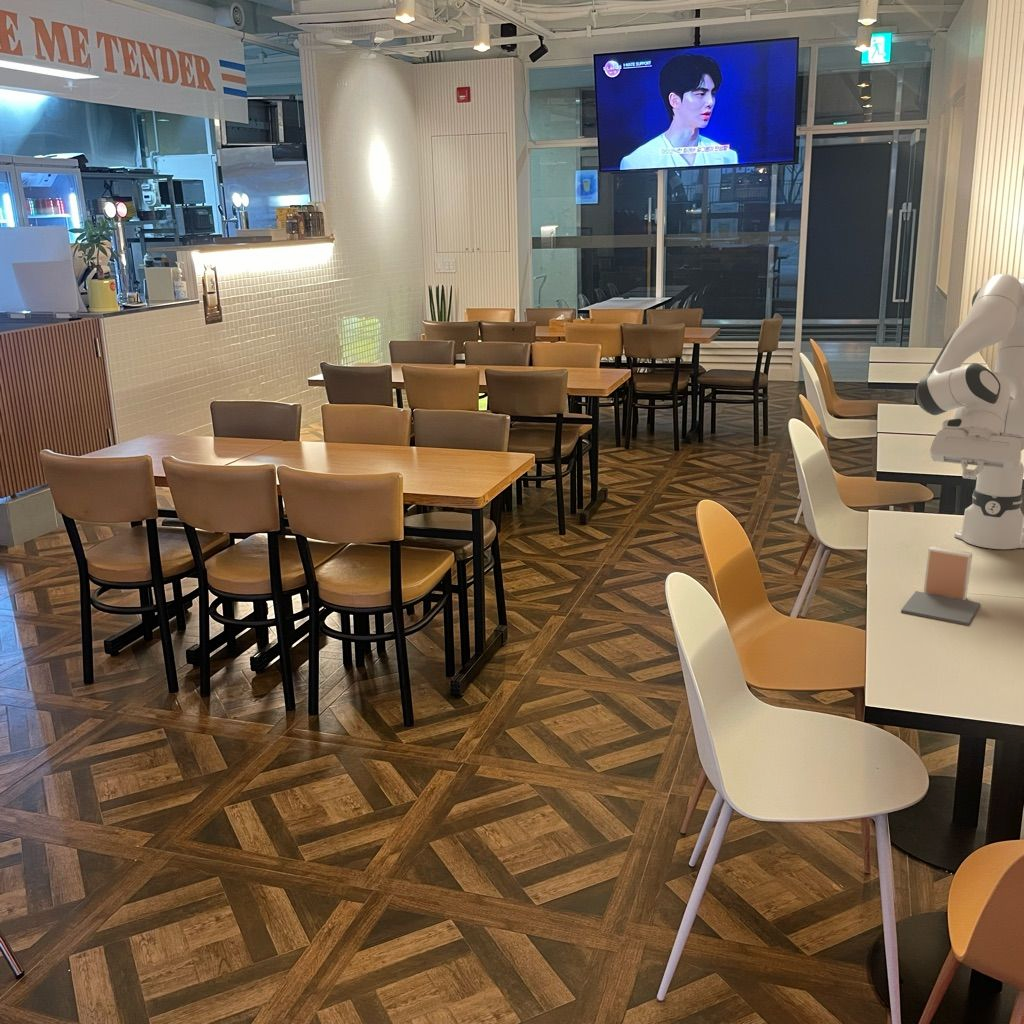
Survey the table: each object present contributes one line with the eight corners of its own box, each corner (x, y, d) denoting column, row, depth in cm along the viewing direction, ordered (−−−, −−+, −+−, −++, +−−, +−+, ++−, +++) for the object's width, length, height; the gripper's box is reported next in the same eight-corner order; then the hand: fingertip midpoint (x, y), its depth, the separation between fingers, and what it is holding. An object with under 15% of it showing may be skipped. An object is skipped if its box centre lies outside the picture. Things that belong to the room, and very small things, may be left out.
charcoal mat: (915, 593, 232) (915, 590, 232) (980, 605, 225) (980, 602, 225) (900, 612, 221) (901, 609, 221) (968, 625, 214) (968, 622, 214)
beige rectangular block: (925, 590, 235) (931, 546, 232) (966, 597, 230) (972, 552, 227) (923, 593, 232) (928, 549, 229) (964, 601, 228) (970, 556, 225)
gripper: (1028, 443, 240) (1016, 490, 235) (939, 435, 251) (926, 479, 246) (1027, 427, 235) (1016, 475, 230) (936, 420, 247) (923, 465, 241)
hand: (968, 477), depth 238 cm, fingers closed
